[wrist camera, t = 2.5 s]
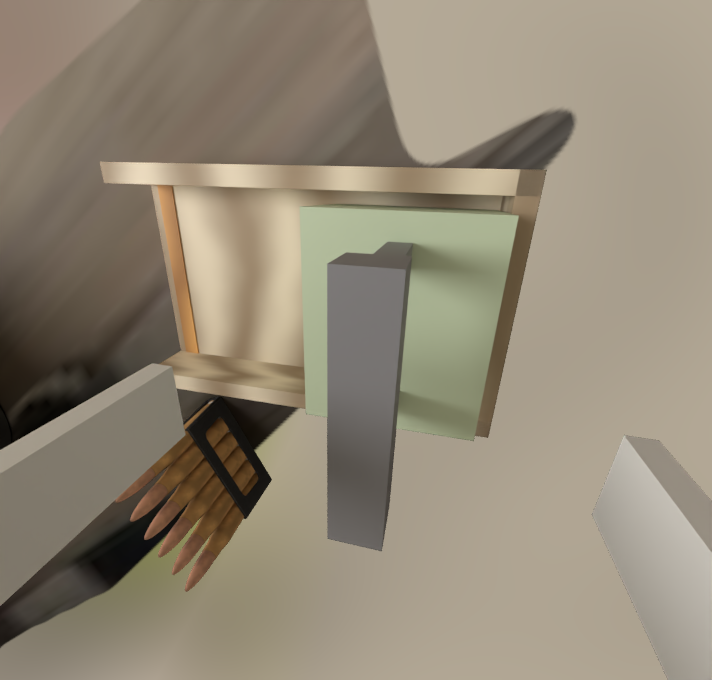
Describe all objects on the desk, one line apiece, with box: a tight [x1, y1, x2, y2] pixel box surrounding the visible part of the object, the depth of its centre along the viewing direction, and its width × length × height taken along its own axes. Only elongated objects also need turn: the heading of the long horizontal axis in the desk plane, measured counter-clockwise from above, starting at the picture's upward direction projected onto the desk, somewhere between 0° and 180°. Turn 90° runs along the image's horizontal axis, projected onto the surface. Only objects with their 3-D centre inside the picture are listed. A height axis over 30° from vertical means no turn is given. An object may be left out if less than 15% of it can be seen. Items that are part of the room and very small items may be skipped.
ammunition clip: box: [115, 396, 272, 592], centre depth 30 cm, size 11×2×12 cm, turn 25°
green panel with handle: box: [300, 204, 519, 551], centre depth 18 cm, size 10×12×16 cm
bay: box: [100, 162, 547, 438], centre depth 25 cm, size 26×16×5 cm, turn 88°
